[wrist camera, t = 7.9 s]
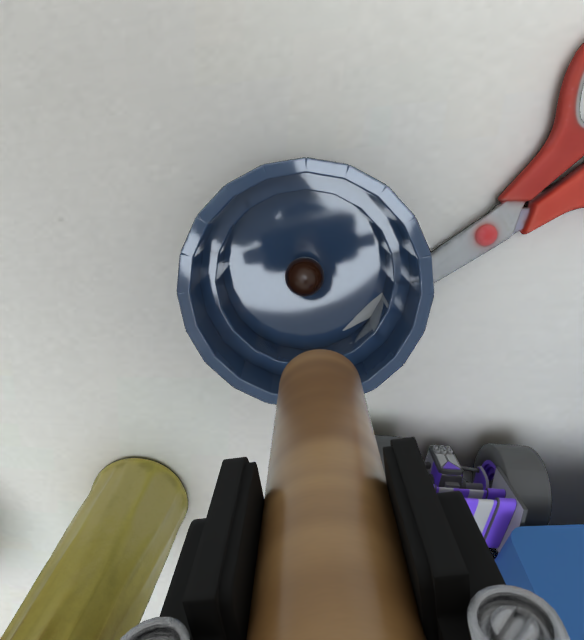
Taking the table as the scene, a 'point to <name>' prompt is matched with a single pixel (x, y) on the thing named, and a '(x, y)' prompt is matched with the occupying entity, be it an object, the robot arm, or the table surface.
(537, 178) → the scissors
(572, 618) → the block
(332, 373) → the tan cylinder
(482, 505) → the toy race car
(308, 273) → the bead
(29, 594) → the vase
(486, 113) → the table surface
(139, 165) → the table surface
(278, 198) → the bowl
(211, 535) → the robot arm
